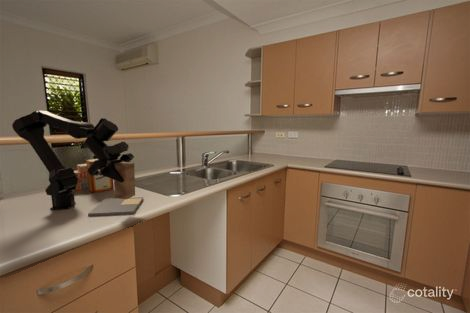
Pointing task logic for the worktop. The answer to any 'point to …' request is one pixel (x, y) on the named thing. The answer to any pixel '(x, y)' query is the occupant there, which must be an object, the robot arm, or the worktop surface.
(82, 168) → the orange red carton
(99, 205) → the baseplate
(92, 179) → the baking soda box
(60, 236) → the worktop surface
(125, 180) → the walnut post
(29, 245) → the worktop surface
